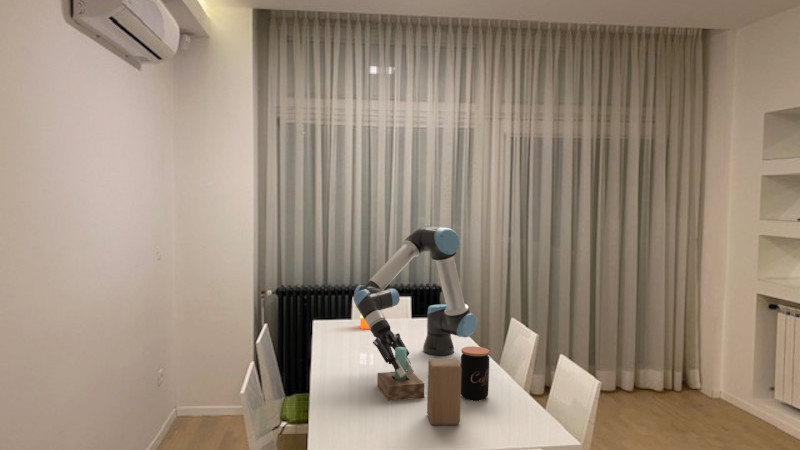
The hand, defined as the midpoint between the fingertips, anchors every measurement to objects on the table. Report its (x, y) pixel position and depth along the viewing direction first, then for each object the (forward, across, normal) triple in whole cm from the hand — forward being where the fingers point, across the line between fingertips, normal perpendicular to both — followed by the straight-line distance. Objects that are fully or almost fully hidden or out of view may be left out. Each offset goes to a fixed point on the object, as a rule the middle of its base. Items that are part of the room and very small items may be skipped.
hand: (407, 374), depth 213 cm
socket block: (+3, 0, -8) cm, 9 cm away
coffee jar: (+19, -17, +8) cm, 27 cm away
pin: (+1, 0, -6) cm, 6 cm away
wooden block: (+23, +10, +12) cm, 28 cm away
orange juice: (-57, -67, -69) cm, 112 cm away
